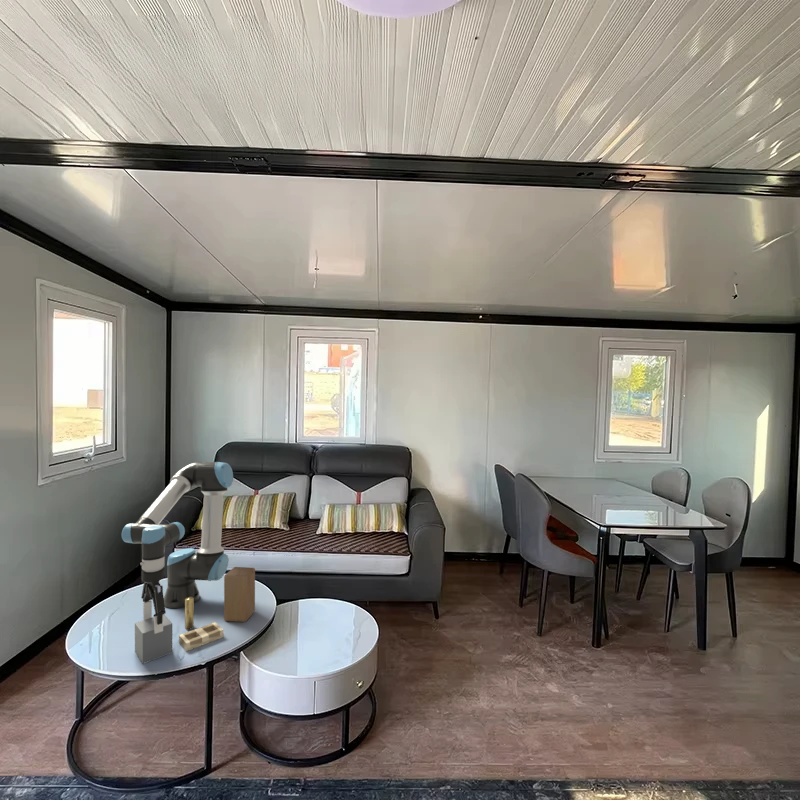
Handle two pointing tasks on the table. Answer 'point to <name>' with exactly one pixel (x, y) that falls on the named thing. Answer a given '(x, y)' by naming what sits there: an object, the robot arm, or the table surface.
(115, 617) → the table surface
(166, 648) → the block
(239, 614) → the wooden block
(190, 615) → the pin
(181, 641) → the board
